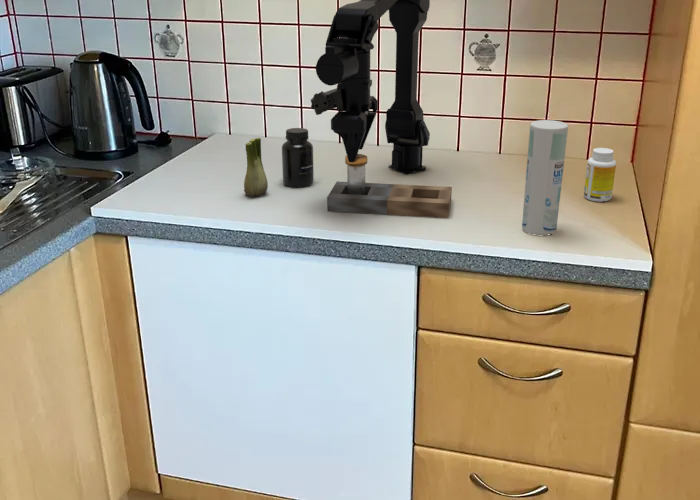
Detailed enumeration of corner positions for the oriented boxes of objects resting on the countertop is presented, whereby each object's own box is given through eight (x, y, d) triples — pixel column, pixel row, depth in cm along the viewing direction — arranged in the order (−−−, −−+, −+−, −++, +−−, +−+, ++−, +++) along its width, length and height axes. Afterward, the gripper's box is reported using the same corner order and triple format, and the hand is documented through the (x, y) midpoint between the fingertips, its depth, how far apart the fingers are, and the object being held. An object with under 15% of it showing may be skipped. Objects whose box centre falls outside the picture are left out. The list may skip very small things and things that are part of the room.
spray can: (550, 239, 137) (561, 130, 129) (515, 232, 140) (524, 125, 132) (561, 227, 142) (573, 122, 134) (528, 221, 145) (537, 118, 137)
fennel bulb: (260, 188, 164) (257, 134, 159) (274, 193, 161) (271, 138, 156) (238, 195, 160) (234, 139, 156) (253, 200, 157) (249, 144, 152)
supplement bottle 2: (617, 200, 155) (624, 151, 151) (596, 204, 153) (602, 155, 149) (598, 192, 160) (604, 145, 156) (577, 196, 158) (583, 148, 154)
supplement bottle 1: (309, 189, 163) (307, 135, 159) (279, 187, 165) (276, 133, 160) (317, 179, 170) (315, 126, 165) (287, 177, 171) (285, 125, 166)
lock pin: (359, 199, 157) (358, 152, 153) (371, 204, 154) (371, 157, 150) (341, 203, 155) (340, 156, 151) (353, 209, 152) (353, 161, 148)
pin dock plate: (451, 200, 156) (451, 186, 155) (448, 218, 147) (448, 203, 145) (337, 194, 160) (336, 181, 159) (327, 211, 151) (327, 197, 150)
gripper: (324, 66, 154) (325, 141, 160) (302, 84, 137) (305, 167, 143) (378, 68, 152) (377, 143, 158) (363, 86, 135) (363, 170, 141)
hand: (355, 155), depth 150 cm, fingers open, 9 cm apart
